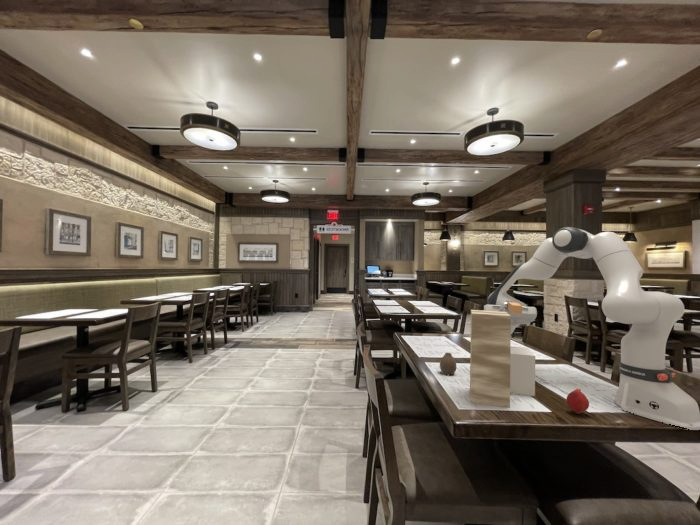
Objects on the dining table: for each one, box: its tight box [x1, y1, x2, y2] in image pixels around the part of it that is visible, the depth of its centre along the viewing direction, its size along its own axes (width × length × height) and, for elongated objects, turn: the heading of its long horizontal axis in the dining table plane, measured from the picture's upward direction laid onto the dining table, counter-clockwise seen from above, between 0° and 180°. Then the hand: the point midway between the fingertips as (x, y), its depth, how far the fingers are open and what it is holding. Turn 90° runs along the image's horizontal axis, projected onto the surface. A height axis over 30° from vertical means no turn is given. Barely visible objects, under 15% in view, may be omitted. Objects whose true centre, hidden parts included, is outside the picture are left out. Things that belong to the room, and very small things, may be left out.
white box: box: [510, 345, 536, 397], centre depth 125 cm, size 13×12×14 cm
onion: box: [566, 387, 590, 415], centre depth 103 cm, size 6×6×8 cm
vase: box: [439, 352, 457, 375], centre depth 141 cm, size 7×7×9 cm
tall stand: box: [469, 309, 512, 408], centre depth 114 cm, size 12×12×30 cm
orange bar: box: [506, 301, 522, 314], centre depth 127 cm, size 19×3×3 cm, turn 161°
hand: (511, 304), depth 132 cm, fingers closed on orange bar, 3 cm apart
